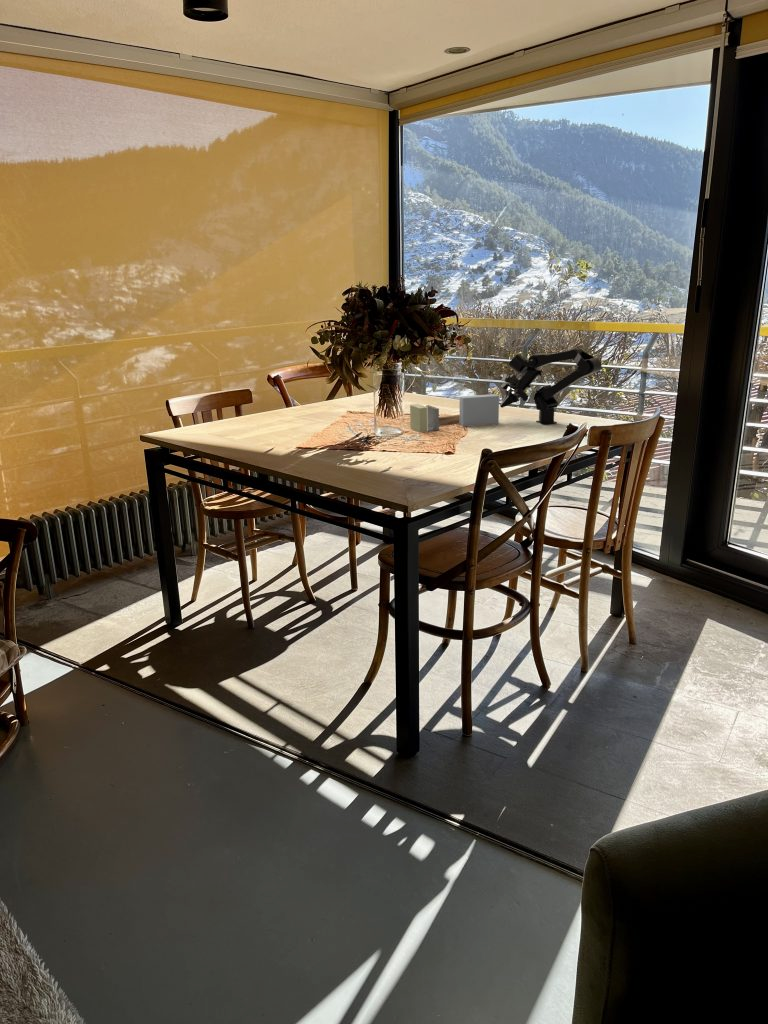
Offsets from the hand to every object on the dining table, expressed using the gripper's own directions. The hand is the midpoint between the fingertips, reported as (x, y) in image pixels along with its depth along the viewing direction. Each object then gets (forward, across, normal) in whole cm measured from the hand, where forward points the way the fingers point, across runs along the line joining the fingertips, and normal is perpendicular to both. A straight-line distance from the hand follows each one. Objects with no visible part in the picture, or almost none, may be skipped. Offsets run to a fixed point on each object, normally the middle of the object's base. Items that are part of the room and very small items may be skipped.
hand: (500, 406), depth 331 cm
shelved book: (+31, +4, -22) cm, 38 cm away
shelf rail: (+16, -6, -7) cm, 19 cm away
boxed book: (+12, 0, -2) cm, 12 cm away
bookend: (+28, +3, -19) cm, 34 cm away
